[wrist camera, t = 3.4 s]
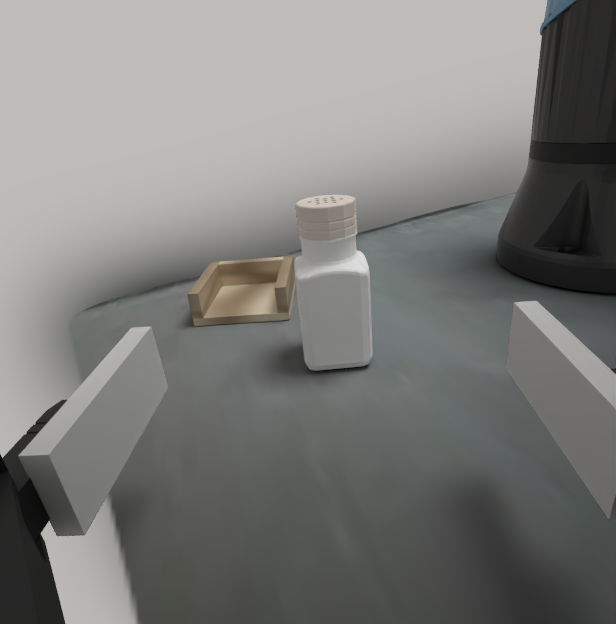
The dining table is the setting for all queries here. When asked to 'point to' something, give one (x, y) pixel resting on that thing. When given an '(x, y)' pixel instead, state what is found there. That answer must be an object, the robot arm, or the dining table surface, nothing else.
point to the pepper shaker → (332, 285)
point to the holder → (244, 291)
